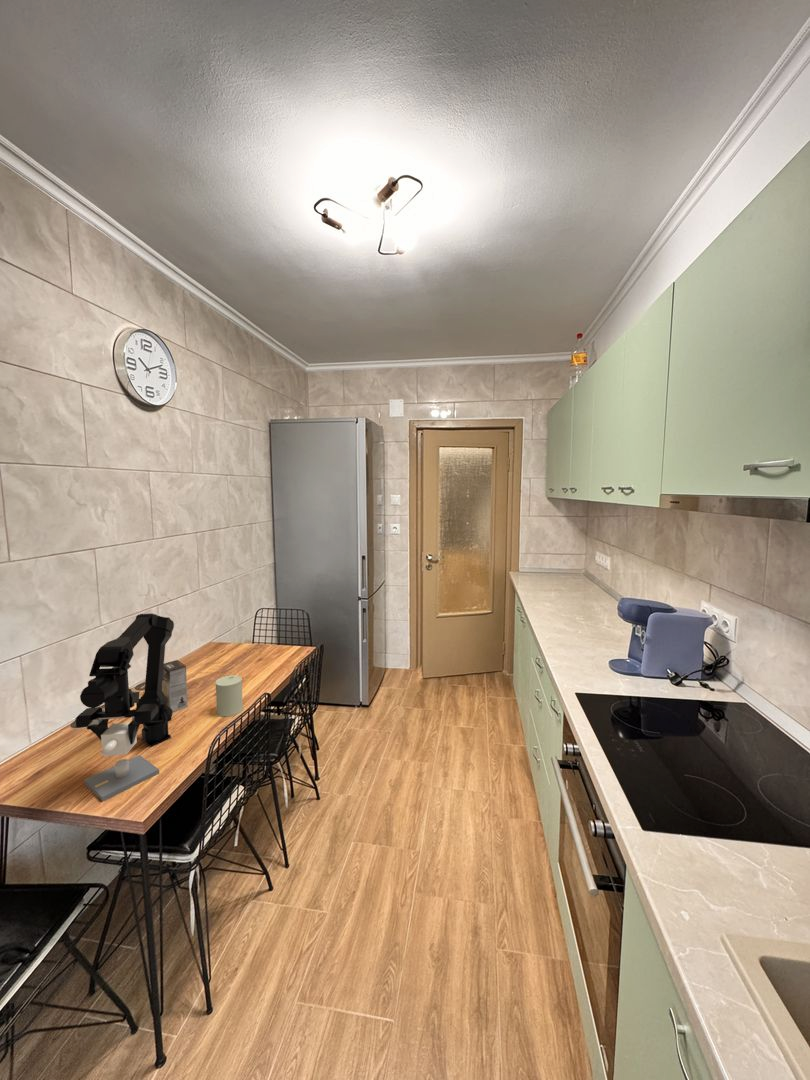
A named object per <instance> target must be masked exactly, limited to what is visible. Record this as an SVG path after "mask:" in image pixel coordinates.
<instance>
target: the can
mask: <svg viewBox="0 0 810 1080" xmlns="http://www.w3.org/2000/svg"><path fill="white" fill-rule="evenodd" d="M214 684H215V701H216V711H215V712H216V714H217V716H220V717H232V716H235V715H238V714H240V713H241V712H242V711H243V710H244V705H243V704H244V703H243V678H242V676H240V675H235V674H233V675H226V676H222V677H220V678H218V679H216V680H215V683H214Z"/></svg>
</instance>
